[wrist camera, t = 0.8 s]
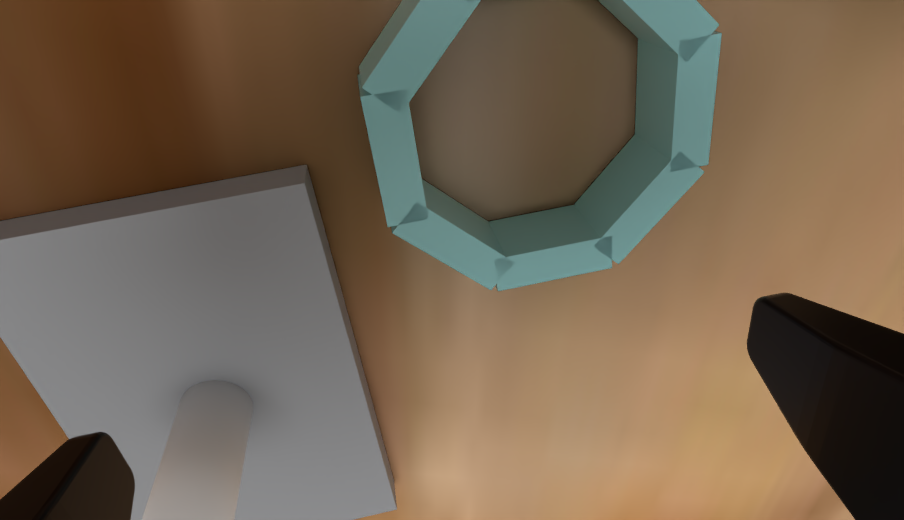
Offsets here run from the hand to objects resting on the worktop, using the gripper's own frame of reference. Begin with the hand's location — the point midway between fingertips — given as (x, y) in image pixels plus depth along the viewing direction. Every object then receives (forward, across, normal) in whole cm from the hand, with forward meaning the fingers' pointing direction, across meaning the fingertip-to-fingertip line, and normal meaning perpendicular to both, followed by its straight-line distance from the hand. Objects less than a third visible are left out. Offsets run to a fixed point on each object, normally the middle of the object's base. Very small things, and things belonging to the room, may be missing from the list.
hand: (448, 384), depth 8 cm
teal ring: (+12, -4, 0) cm, 12 cm away
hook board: (+12, +8, +8) cm, 16 cm away
